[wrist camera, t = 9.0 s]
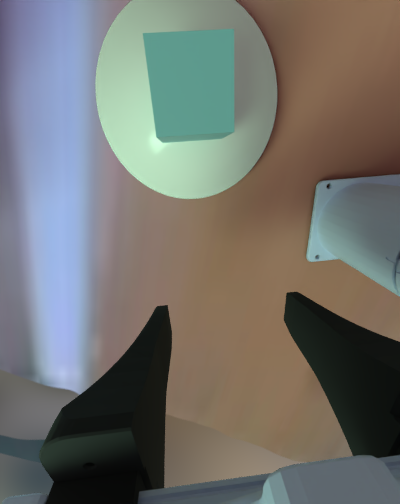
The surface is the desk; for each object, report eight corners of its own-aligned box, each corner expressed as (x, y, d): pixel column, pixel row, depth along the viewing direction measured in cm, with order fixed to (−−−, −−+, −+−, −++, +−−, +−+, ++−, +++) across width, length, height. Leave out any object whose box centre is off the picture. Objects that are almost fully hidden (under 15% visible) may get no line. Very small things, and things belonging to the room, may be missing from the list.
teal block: (219, 65, 15) (234, 28, 11) (221, 138, 17) (234, 132, 12) (153, 68, 15) (142, 33, 10) (162, 143, 16) (156, 137, 12)
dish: (277, -10, 14) (284, -24, 13) (266, 190, 20) (271, 192, 18) (79, -1, 14) (70, -15, 13) (122, 202, 19) (118, 205, 18)
